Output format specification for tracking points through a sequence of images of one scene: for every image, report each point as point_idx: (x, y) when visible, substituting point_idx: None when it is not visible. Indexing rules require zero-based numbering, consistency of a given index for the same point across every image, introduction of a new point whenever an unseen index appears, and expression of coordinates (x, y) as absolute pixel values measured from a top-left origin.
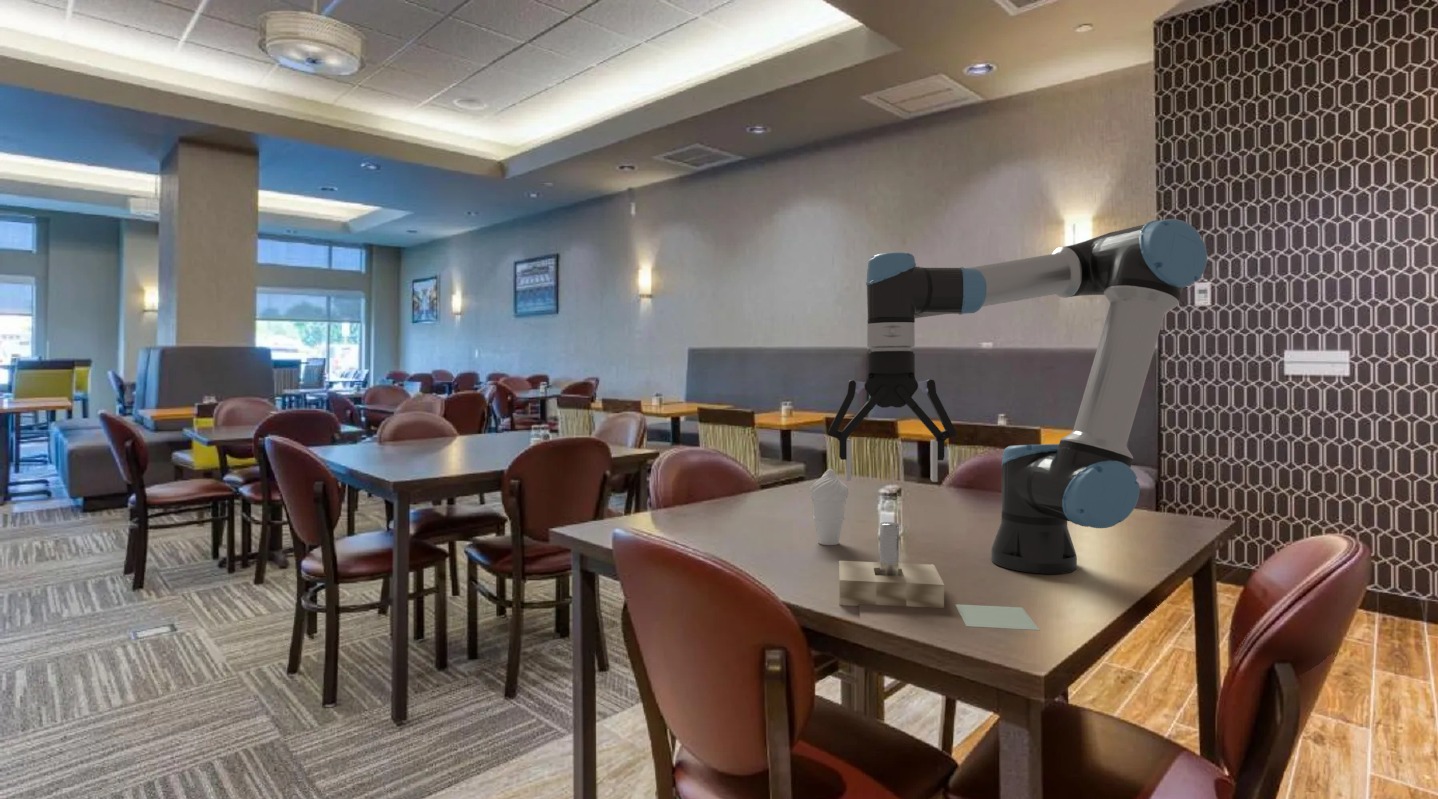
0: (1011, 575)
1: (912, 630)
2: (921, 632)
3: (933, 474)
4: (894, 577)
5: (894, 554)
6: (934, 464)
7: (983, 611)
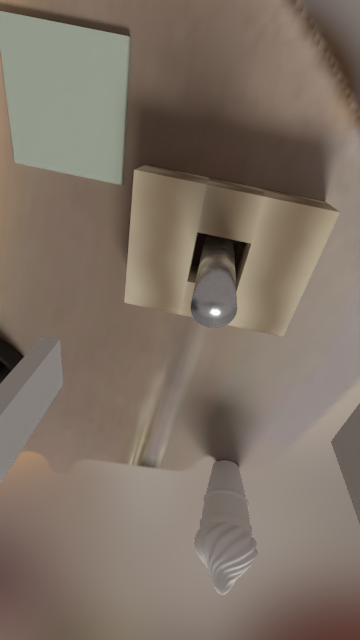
0: (16, 328)
1: (241, 25)
2: (226, 9)
3: (42, 356)
4: (218, 226)
5: (210, 260)
6: (14, 385)
7: (81, 139)
